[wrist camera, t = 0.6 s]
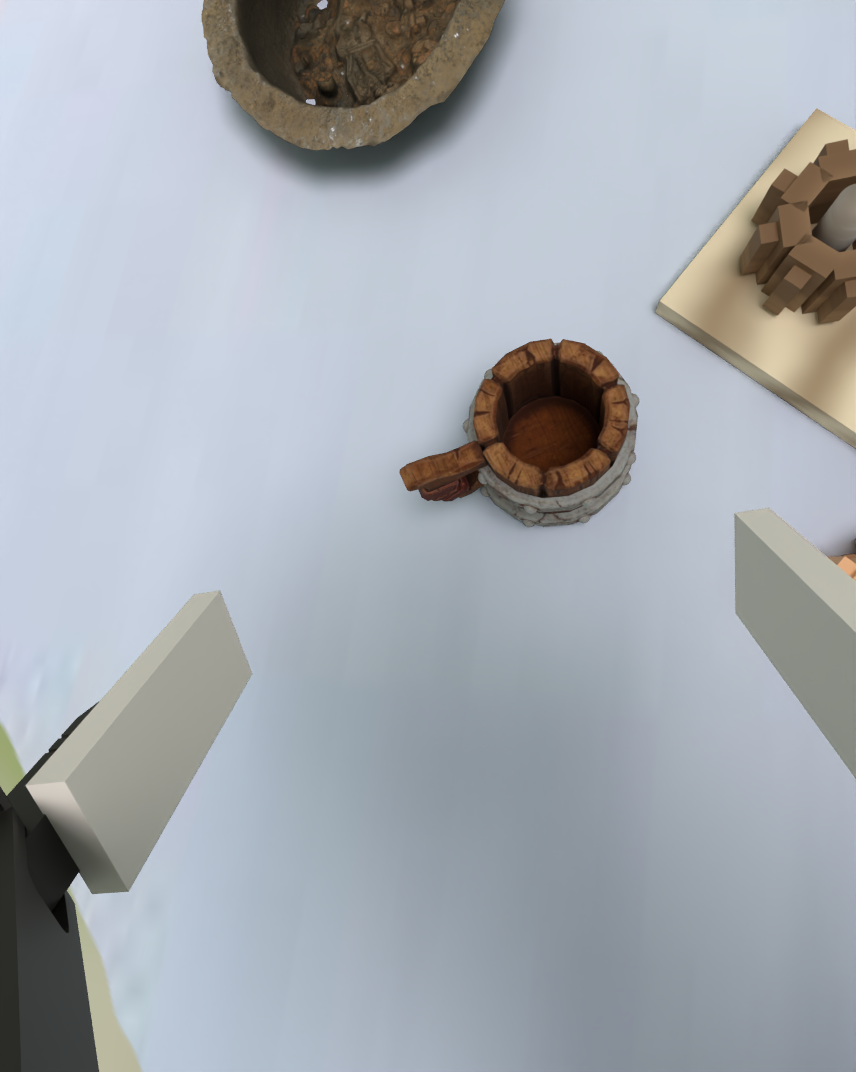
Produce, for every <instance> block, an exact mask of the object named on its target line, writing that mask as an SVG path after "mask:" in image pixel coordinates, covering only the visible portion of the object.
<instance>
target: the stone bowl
mask: <svg viewBox="0 0 856 1072" xmlns="http://www.w3.org/2000/svg"><path fill="white" fill-rule="evenodd" d="M320 1H322V0H204V3H203V11H202V23H203V28H204V38H206V39H207V49H208V55H209V58H210V60H211V62H212V64H213V71H212V72H213V73H214V76H215V79H216V81H217V83H218V84H219V85H220V86H221V87H223V88H224V89H225V90H227V91H231V93H232V98H233V99H235V100H236V101H237V102H238V103H239V105H240V106H241V107H242V109H243V110H245V111H246V112H247V113H248V114H250V115H251V116H253V117H254V119H255V120H256V121H257V122H258V124H259V125H260V126H261V127H262V128H264V129H266V130H269V131H272V132H273V133H274V134H275V135H276V136H278V137H280V138H282V139H284V140H286V141H288V142H290V143H292V144H294V145H296V146H298V147H301V148H307V149H311V150H315V151H316V150H321V149H325V150H330V149H331V148H332V147H335V148H336V149H337V148H340V147H345V148H346V149H351V148H355V147H358V146H365V145H371V146H376V145H378V144H380V143H382V142H385V141H387V140H389V139H390V138H391V137H393V136H394V135H396V134H397V133H399V132H400V131H402V130H403V129H404V128H406V127H407V126H408V125H410V124H411V123H412V122H413V120H414V119H415V118H416V117H417V116H418V115H419V114H420V113H422V112H423V111H425V110H426V109H427V108H428V107H430V106H432V105H435V104H438V103H441V102H444V101H445V100H446V99H447V98H448V96H449V95H450V94H451V93H452V92H453V90H454V89H455V88H456V86H457V85H458V83H459V82H460V81H461V79H462V78H463V76H464V75H465V73H466V72H467V70H468V69H469V67H470V66H471V64H472V63H473V61H474V59H475V58H476V56H477V55H478V54H479V53H480V51H481V50H482V48H483V46H484V45H485V43H486V41H487V40H488V38H489V36H490V33H491V31H492V27H493V23H494V20H495V19H496V17H497V15H498V12H499V11H500V9H501V7H502V6H503V4H504V2H505V0H327V1H328V4H327V8H324V9H322V10H320V9H319V7H317V6H316V5H317V4H318V3H319V2H320ZM347 95H348V96H347ZM307 99H315V101H316V105H311V104H308V103H306V100H307Z"/></svg>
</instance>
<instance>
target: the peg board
mask: <svg viewBox="0 0 856 1072" xmlns="http://www.w3.org/2000/svg"><path fill="white" fill-rule="evenodd" d="M655 313H657V314H658V315H660V316H661V317H662V318H664V319H665V320H667V321H668V322H670V323H671V324H673V325H674V326H676V327H677V328H679V329H680V330H682V331H683V332H685V333H686V334H688V335H689V336H690V337H692V338H693V339H695V340H696V341H698V342H699V343H701V344H702V345H704V346H705V347H707V348H708V349H710V350H711V351H713V352H714V353H715V354H717V355H718V356H720V357H721V358H723V359H724V360H726V361H727V362H729V363H730V364H732V365H733V366H735V367H736V368H738V369H739V370H741V371H742V372H743V373H745V374H746V375H748V376H749V377H751V378H752V379H754V380H755V381H757V382H758V383H760V384H761V385H763V386H764V387H766V388H767V389H769V390H770V391H771V392H773V393H774V394H776V395H777V396H779V397H780V398H782V399H783V400H785V401H786V402H788V403H789V404H791V405H792V406H794V407H795V408H797V409H798V410H799V411H801V412H802V413H804V414H805V415H807V416H808V417H810V418H811V419H813V420H814V421H816V422H817V423H819V424H820V425H822V426H823V427H825V428H826V429H827V430H829V431H830V432H832V433H833V434H835V435H836V436H838V437H839V438H841V439H842V440H844V441H845V442H847V443H848V444H850V445H851V446H853V447H854V448H855V449H856V130H854V129H852V128H850V127H849V126H847V125H845V124H843V123H841V122H840V121H838V120H836V119H834V118H833V117H831V116H829V115H827V114H825V113H824V112H822V111H820V110H818V109H816V110H815V111H814V112H813V113H812V115H811V116H810V117H809V118H808V120H807V121H806V122H805V123H804V125H803V126H802V127H801V128H800V129H799V131H798V132H797V133H796V134H795V136H794V137H793V138H792V139H791V140H790V142H789V143H788V144H787V145H786V147H785V148H784V149H783V150H782V152H781V153H780V154H779V155H778V156H777V158H776V159H775V160H774V161H773V163H772V164H771V165H770V166H769V167H768V169H767V170H766V171H765V172H764V174H763V175H762V176H761V177H760V179H759V180H758V181H757V182H756V183H755V185H754V186H753V187H752V188H751V190H750V191H749V192H748V193H747V194H746V196H745V197H744V198H743V199H742V201H741V202H740V203H739V204H738V206H737V207H736V208H735V209H734V210H733V212H732V213H731V214H730V215H729V217H728V218H727V219H726V220H725V221H724V223H723V224H722V225H721V226H720V228H719V229H718V230H717V231H716V233H715V234H714V235H713V236H712V237H711V239H710V240H709V241H708V242H707V244H706V245H705V246H704V247H703V248H702V250H701V251H700V252H699V253H698V255H697V256H696V257H695V258H694V260H693V261H692V262H691V263H690V264H689V266H688V267H687V268H686V269H685V271H684V272H683V273H682V274H681V275H680V277H679V278H678V279H677V280H676V282H675V283H674V284H673V285H672V287H671V288H670V289H669V290H668V291H667V293H666V294H665V295H664V296H663V298H662V299H661V300H660V302H659V304H658V307H657V309H656V312H655Z"/></svg>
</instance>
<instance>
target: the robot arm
mask: <svg viewBox="0 0 856 1072" xmlns="http://www.w3.org/2000/svg"><path fill="white" fill-rule="evenodd" d="M734 515H735V611H736V614H737V616H738V617H739V619H740V620H741V621H742V623H743V624H744V625H745V627H746V628H747V630H748V631H749V632H750V634H751V635H752V636H753V638H754V639H755V641H756V642H757V643H758V645H759V646H760V647H761V649H762V650H763V652H764V653H765V654H766V656H767V657H768V658H769V660H770V661H771V663H772V664H773V665H774V667H775V668H776V670H777V671H778V672H779V674H780V675H781V676H782V678H783V679H784V681H785V682H786V683H787V685H788V686H789V687H790V689H791V690H792V692H793V693H794V694H795V696H796V697H797V698H798V700H799V701H800V703H801V704H802V705H803V707H804V708H805V709H806V711H807V712H808V714H809V715H810V716H811V718H812V719H813V720H814V722H815V723H816V725H817V726H818V727H819V729H820V730H821V732H822V733H823V734H824V736H825V737H826V738H827V740H828V741H829V743H830V744H831V745H832V747H833V748H834V749H835V751H836V752H837V754H838V755H839V756H840V758H841V759H842V760H843V762H844V763H845V765H846V766H847V767H848V769H849V770H850V771H851V773H852V774H853V776H854V777H855V778H856V581H855V580H854V579H853V578H851V577H850V576H849V575H848V574H847V573H846V572H844V571H843V570H842V569H841V568H840V567H838V566H837V565H836V564H835V563H834V562H833V561H831V560H830V559H829V558H828V557H827V556H825V555H824V554H823V553H822V552H821V551H820V550H818V549H817V548H816V547H815V546H814V545H812V544H811V543H810V542H809V541H808V540H807V539H805V538H804V537H803V536H802V535H801V534H800V533H798V532H797V531H796V530H795V529H794V528H792V527H791V526H790V525H789V524H788V523H787V522H785V521H784V520H783V519H782V518H781V517H779V516H778V515H777V514H776V513H775V512H774V511H772V510H771V509H770V508H765V509H758V510H751V511H745V512H738V513H734ZM251 675H252V672H251V669H250V667H249V664H248V661H247V659H246V656H245V654H244V651H243V648H242V646H241V643H240V641H239V638H238V636H237V633H236V630H235V628H234V625H233V623H232V620H231V617H230V615H229V612H228V610H227V607H226V604H225V602H224V599H223V597H222V594H221V592H220V591H214V592H207V593H201V594H194V595H193V596H192V597H191V599H190V600H189V601H188V602H187V603H186V604H185V605H184V607H183V608H182V609H181V610H180V611H179V612H178V613H177V614H176V616H175V617H174V618H173V619H172V620H171V621H170V622H169V623H168V625H167V626H166V627H165V628H164V629H163V630H162V631H161V633H160V634H159V635H158V636H157V637H156V638H155V639H154V640H153V642H152V643H151V644H150V645H149V646H148V647H147V648H146V650H145V651H144V652H143V653H142V654H141V655H140V656H139V657H138V659H137V660H136V661H135V662H134V663H133V664H132V665H131V667H130V668H129V669H128V670H127V671H126V672H125V673H124V674H123V676H122V677H121V678H120V679H119V680H118V681H117V682H116V684H115V685H114V686H113V687H112V688H111V689H110V690H109V691H108V693H107V694H106V695H105V696H104V697H103V698H102V699H101V700H100V702H98V703H96V704H95V705H94V706H92V707H91V708H90V709H88V710H87V711H86V712H84V713H83V714H82V715H80V716H79V717H78V718H77V719H76V720H75V721H74V722H73V723H72V724H71V725H70V726H69V728H68V729H67V730H66V731H65V732H64V733H63V734H62V735H61V736H62V738H61V739H58V740H57V741H56V742H55V743H54V744H53V745H52V746H51V748H50V749H49V753H45V754H44V755H43V756H42V758H41V759H40V760H39V761H38V762H37V763H36V764H35V765H34V766H33V768H32V769H31V770H30V771H29V772H28V773H27V774H26V775H25V776H24V778H23V779H22V780H21V781H20V782H19V783H18V784H17V785H16V787H15V788H14V789H13V790H12V791H11V792H10V793H9V794H8V795H7V796H6V795H5V793H4V792H3V790H2V788H1V787H0V1072H99V1069H98V1061H97V1055H96V1047H95V1041H94V1034H93V1027H92V1020H91V1013H90V1007H89V1000H88V992H87V986H86V979H85V972H84V965H83V958H82V951H81V944H80V937H79V931H78V924H77V916H76V910H75V904H74V902H73V900H72V898H71V896H70V895H69V893H68V892H67V889H68V887H69V886H70V884H71V883H72V881H73V880H74V878H75V877H76V875H77V874H78V872H79V873H80V875H81V877H82V878H83V880H84V881H85V883H86V885H87V886H88V888H89V889H90V891H91V893H92V894H99V893H114V892H129V890H130V888H131V886H132V885H133V883H134V881H135V879H136V878H137V876H138V874H139V872H140V871H141V869H142V867H143V865H144V864H145V862H146V860H147V858H148V857H149V855H150V853H151V851H152V850H153V848H154V846H155V844H156V842H157V841H158V839H159V837H160V835H161V834H162V832H163V830H164V828H165V827H166V825H167V823H168V821H169V820H170V818H171V816H172V814H173V813H174V811H175V809H176V807H177V806H178V804H179V802H180V800H181V799H182V797H183V795H184V793H185V791H186V790H187V788H188V786H189V784H190V783H191V781H192V779H193V777H194V776H195V774H196V772H197V770H198V769H199V767H200V765H201V763H202V762H203V760H204V758H205V756H206V755H207V753H208V751H209V749H210V747H211V746H212V744H213V742H214V740H215V739H216V737H217V735H218V733H219V732H220V730H221V728H222V726H223V725H224V723H225V721H226V719H227V718H228V716H229V714H230V712H231V711H232V709H233V707H234V705H235V703H236V702H237V700H238V698H239V696H240V695H241V693H242V691H243V689H244V688H245V686H246V684H247V682H248V681H249V679H250V677H251Z"/></svg>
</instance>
